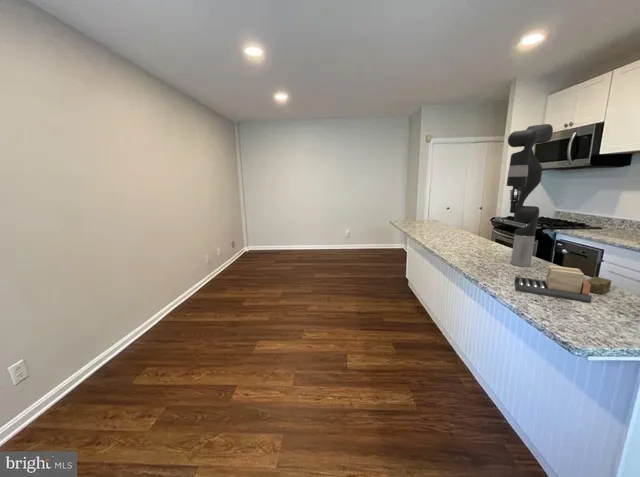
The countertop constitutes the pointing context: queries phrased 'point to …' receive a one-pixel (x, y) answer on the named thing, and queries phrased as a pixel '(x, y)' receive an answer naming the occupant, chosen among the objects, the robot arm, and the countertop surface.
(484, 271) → the countertop surface
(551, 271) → the birch slab
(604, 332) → the countertop surface
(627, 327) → the countertop surface
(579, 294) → the roller track
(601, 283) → the stone block
